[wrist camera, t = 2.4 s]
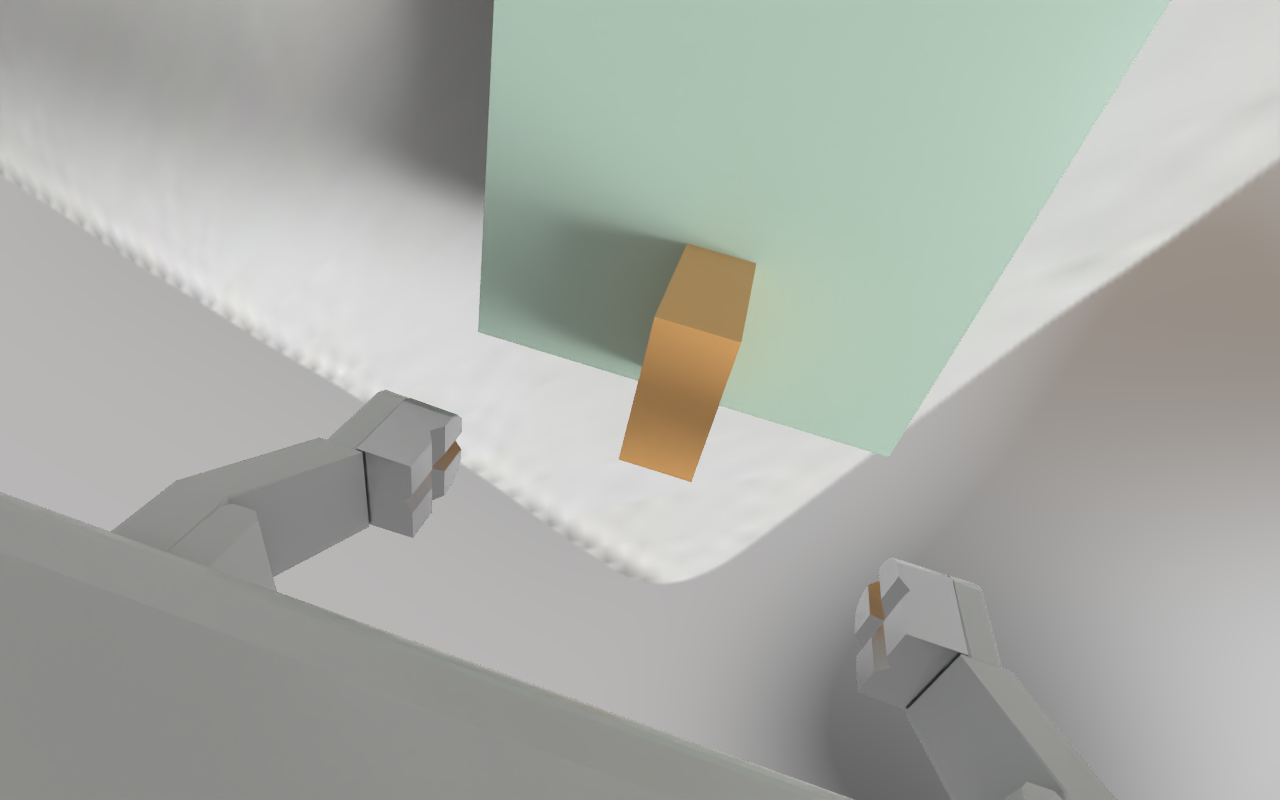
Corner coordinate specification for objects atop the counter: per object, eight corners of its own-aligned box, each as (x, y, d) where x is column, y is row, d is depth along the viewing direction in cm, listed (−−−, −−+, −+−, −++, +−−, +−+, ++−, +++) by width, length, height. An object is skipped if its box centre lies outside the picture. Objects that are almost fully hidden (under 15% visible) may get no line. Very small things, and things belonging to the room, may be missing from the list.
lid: (506, 299, 20) (408, 408, 15) (560, -385, 11) (370, -640, 7) (881, 412, 20) (904, 565, 15) (1248, -226, 11) (1617, -383, 6)
